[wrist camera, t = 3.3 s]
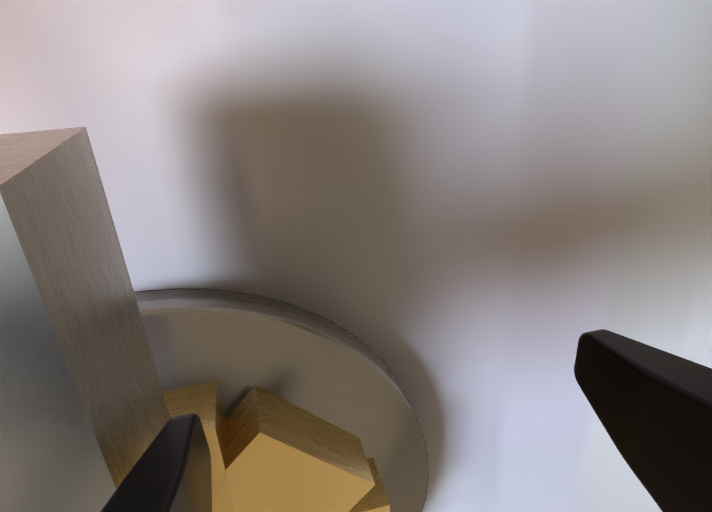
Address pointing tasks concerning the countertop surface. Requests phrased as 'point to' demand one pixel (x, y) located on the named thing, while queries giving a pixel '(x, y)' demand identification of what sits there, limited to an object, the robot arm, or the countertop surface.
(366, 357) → the round metal dish
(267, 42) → the countertop surface
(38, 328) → the tan curved piece
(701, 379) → the robot arm
